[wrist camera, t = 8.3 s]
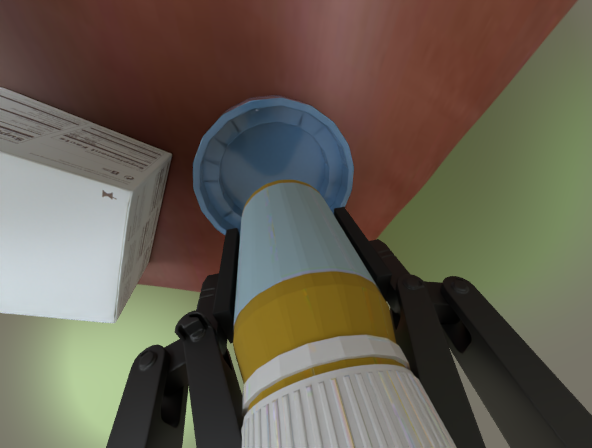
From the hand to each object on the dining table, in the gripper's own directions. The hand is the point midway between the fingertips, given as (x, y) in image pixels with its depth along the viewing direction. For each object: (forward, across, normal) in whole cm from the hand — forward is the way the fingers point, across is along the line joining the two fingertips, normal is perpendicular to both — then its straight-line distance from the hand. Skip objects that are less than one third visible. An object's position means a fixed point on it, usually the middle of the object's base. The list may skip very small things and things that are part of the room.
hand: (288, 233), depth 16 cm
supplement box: (+12, -20, +1) cm, 24 cm away
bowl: (+12, 0, 0) cm, 12 cm away
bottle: (+3, 0, 0) cm, 3 cm away
